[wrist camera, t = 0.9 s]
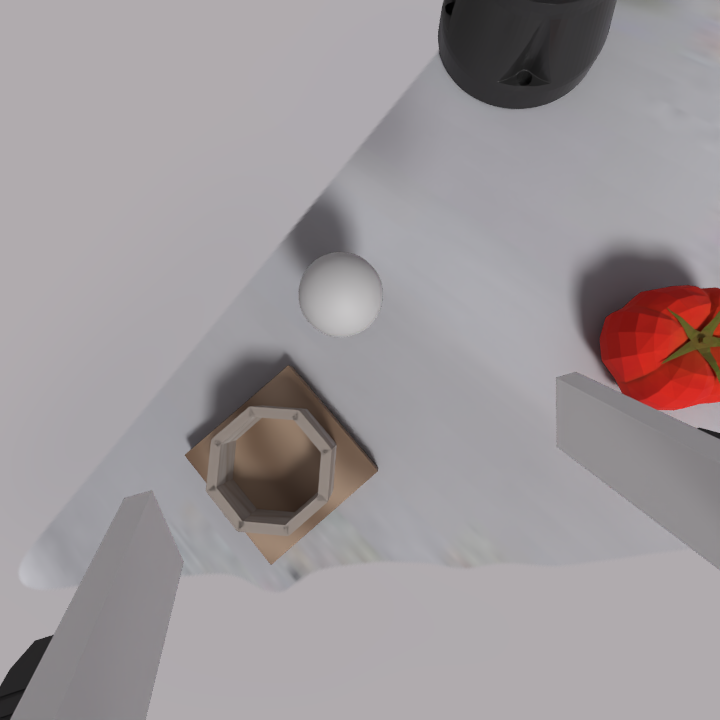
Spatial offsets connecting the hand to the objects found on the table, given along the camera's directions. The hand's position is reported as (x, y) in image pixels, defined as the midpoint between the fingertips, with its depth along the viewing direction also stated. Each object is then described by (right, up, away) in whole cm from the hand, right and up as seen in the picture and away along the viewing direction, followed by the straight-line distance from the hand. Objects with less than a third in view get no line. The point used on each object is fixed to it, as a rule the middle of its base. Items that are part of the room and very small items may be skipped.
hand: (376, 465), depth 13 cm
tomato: (+25, +4, +23) cm, 34 cm away
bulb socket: (-7, -6, +23) cm, 25 cm away
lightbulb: (-1, +7, +25) cm, 26 cm away
